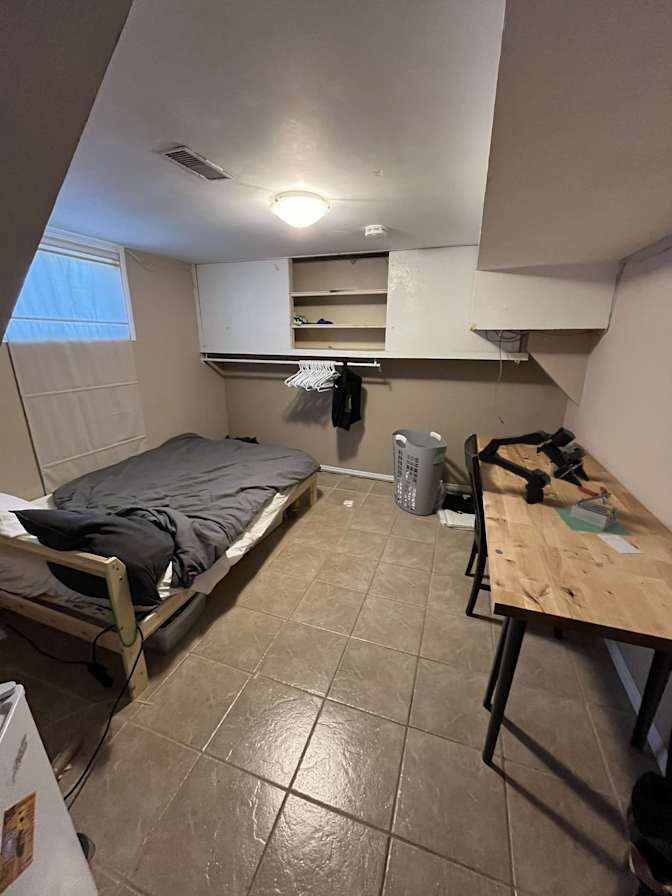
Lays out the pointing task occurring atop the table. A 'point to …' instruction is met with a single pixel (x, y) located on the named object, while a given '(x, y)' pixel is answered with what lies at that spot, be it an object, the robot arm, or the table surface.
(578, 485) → the robot arm
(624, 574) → the table surface
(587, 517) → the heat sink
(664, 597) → the table surface
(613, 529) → the green square mat
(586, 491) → the pliers
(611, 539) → the external hard drive
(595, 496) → the dark metal plate
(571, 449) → the spray can
